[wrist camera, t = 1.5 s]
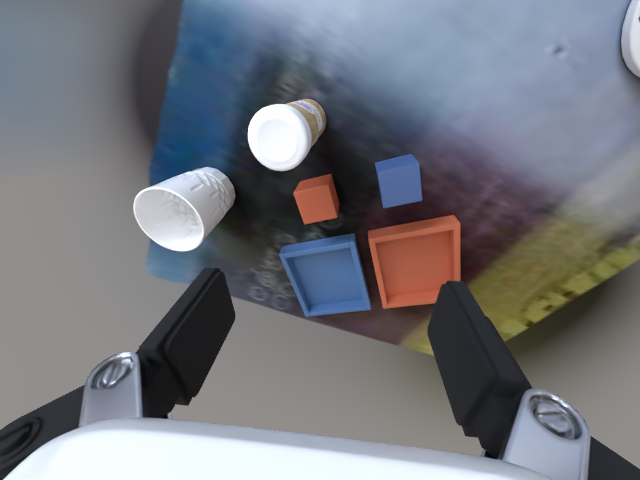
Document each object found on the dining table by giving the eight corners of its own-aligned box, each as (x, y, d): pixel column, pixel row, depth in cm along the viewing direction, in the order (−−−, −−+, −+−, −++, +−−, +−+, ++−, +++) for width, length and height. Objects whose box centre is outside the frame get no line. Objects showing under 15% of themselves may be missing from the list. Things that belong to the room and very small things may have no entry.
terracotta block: (331, 173, 32) (328, 184, 28) (339, 203, 34) (337, 217, 30) (300, 181, 33) (293, 192, 29) (309, 210, 35) (304, 224, 31)
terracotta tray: (453, 214, 33) (460, 223, 31) (454, 289, 39) (460, 300, 37) (367, 230, 36) (368, 239, 34) (381, 297, 42) (383, 308, 40)
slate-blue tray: (354, 232, 36) (354, 241, 34) (370, 299, 43) (371, 309, 41) (282, 246, 39) (278, 255, 37) (308, 306, 46) (305, 316, 43)
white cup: (226, 156, 33) (181, 180, 24) (248, 210, 36) (215, 247, 28) (176, 168, 34) (118, 194, 26) (202, 218, 38) (158, 255, 30)
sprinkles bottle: (329, 102, 28) (311, 111, 16) (323, 144, 30) (304, 177, 19) (289, 95, 28) (245, 100, 17) (287, 137, 30) (246, 167, 19)
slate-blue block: (411, 153, 30) (419, 162, 26) (414, 187, 32) (422, 200, 28) (374, 162, 31) (377, 172, 27) (380, 195, 33) (383, 208, 29)
